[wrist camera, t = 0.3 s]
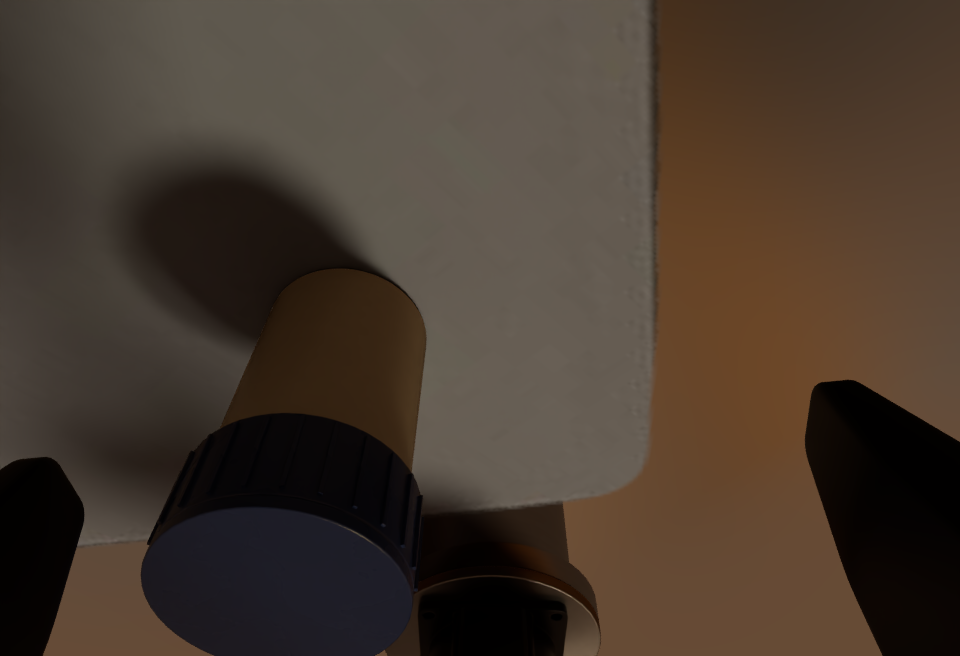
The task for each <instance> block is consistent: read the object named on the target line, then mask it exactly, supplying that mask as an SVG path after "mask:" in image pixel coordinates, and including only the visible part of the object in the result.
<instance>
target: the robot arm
mask: <svg viewBox="0 0 960 656" xmlns="http://www.w3.org/2000/svg"><path fill="white" fill-rule="evenodd" d="M805 448H806V454H807V458H808V462H809V465H810V468H811V471H812V474H813V477H814V480H815V483H816V486H817V489H818V492H819V495H820V498H821V501H822V504H823V507H824V510H825V513H826V516H827V519H828V522H829V525H830V528H831V532H832V535H833V537H834V541H835V544H836V546H837V550H838V553H839V556H840V559H841V562H842V564H843V567H844V570H845V573H846V575H847V578H848V581H849V583H850V585H851V588H852V590H853V592H854V595H855V597H856V599H857V601H858V604H859V606H860V608H861V610H862V612H863V614H864V617H865V619H866V621H867V623H868V625H869V627H870V630H871V632H872V634H873V636H874V638H875V640H876V642H877V645H878V646H879V649H880V651H881V653H882V655H883V656H960V442H959V441H957V440H956V439H954V438H952V437H951V436H949V435H947V434H945V433H943V432H942V431H940V430H939V429H937V428H935V427H933V426H932V425H930V424H929V423H927V422H925V421H923V420H922V419H920V418H918V417H917V416H915V415H913V414H912V413H910V412H908V411H907V410H905V409H903V408H901V407H900V406H898V405H896V404H895V403H893V402H891V401H890V400H888V399H886V398H884V397H883V396H881V395H879V394H878V393H876V392H874V391H872V390H871V389H869V388H868V387H866V386H864V385H862V384H861V383H859V382H856V381H854V380H842V381H831V382H821V383H819V384H817V385H816V386H815V387H814V389H813V391H812V394H811V400H810V407H809V413H808V421H807V428H806V434H805ZM83 523H84V507H83V503H82V501H81V499H80V497H79V496H78V494H77V493H76V491H75V489H74V488H73V486H72V484H71V483H70V481H69V480H68V478H67V476H66V475H65V473H64V471H63V470H62V468H61V466H60V465H59V464H58V462H56V461H55V460H54V459H52V458H49V457H37V458H27V459H20V460H16V461H13V462H11V463H10V464H8V465H7V466H5V467H4V468H2V469H1V470H0V656H43V653H44V651H45V648H46V645H47V643H48V640H49V637H50V634H51V631H52V628H53V625H54V622H55V619H56V615H57V612H58V609H59V605H60V602H61V598H62V595H63V592H64V588H65V585H66V581H67V578H68V574H69V571H70V568H71V564H72V561H73V557H74V554H75V551H76V547H77V544H78V540H79V537H80V534H81V530H82V527H83ZM567 622H568V612H567V606H566V605H565V604H563V603H560V602H514V601H424V602H421V603H420V604H419V607H418V629H419V643H420V656H563V654H564V646H565V638H566V630H567Z"/></svg>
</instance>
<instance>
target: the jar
mask: <svg viewBox="0 0 960 656" xmlns="http://www.w3.org/2000/svg"><path fill="white" fill-rule="evenodd" d="M426 339H427V337H426V329H425V325H424V322H423V319H422V317H421V315H420V313H419V311H418V309H417V308H416V306H415V305H414V303H413V302H412V301H411V300H410V299H409V297H408V296H407V295H406V294H405V293H403V292H402V291H401V290H400V289H399V288H397V287H396V286H395V285H393V284H392V283H390V282H388V281H387V280H385V279H383V278H381V277H378V276H376V275H374V274H371V273H367V272H364V271H360V270H354V269H344V268H335V269H325V270H319V271H316V272H313V273H309V274H307V275H305V276H303V277H300V278H298V279H297V280H295V281H294V282H292V283H291V284H290V285H288V286H287V287H286V288H285V289H284V290H283V291H282V292H281V293H280V294H279V296H278V297H277V299H276V300H275V302H274V304H273V306H272V309H271V311H270V313H269V316H268V318H267V320H266V322H265V325H264V327H263V329H262V332H261V334H260V336H259V339H258V341H257V343H256V346H255V348H254V350H253V352H252V355H251V357H250V359H249V362H248V364H247V366H246V369H245V371H244V373H243V376H242V378H241V380H240V382H239V385H238V387H237V389H236V392H235V394H234V396H233V399H232V401H231V403H230V405H229V408H228V410H227V412H226V415H225V417H224V419H223V422H222V424H221V426H220V428H222V427H224V426H226V425H228V424H230V423H233V422H235V421H238V420H241V419H244V418H248V417H252V416H257V415H264V414H271V413H300V414H309V415H316V416H322V417H326V418H330V419H334V420H337V421H340V422H343V423H346V424H349V425H351V426H354V427H356V428H358V429H360V430H362V431H364V432H367V433H368V434H370V435H372V436H373V437H375V438H377V439H378V440H380V441H381V442H383V443H384V444H385V445H387V446H388V447H389V448H390V449H392V450H393V451H394V452H395V453H396V454H397V455H398V456H399V457H400V458H401V459H402V460H403V462H404V463H405V464H406V466H407V467H408V468H409V469H410V471H411V473H412V465H413V456H414V447H415V439H416V430H417V421H418V413H419V404H420V395H421V387H422V378H423V369H424V361H425V352H426Z"/></svg>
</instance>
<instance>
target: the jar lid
mask: <svg viewBox="0 0 960 656" xmlns="http://www.w3.org/2000/svg"><path fill="white" fill-rule="evenodd" d="M422 505H423V495H420V491H419V488H418V485H417V482H416V480H415V478H414V475H413V474H412V473H411V471H410V469H409V468H408V467H407V466H406V464H405V463H404V462H403V460H402V459H401V458H400V457H399V456H398V455H397V454H396V453H395V452H394V451H393V450H392V449H390V448H389V447H388V446H387V445H385V444H384V443H383V442H381V441H380V440H378V439H377V438H375V437H373V436H372V435H370V434H368V433H367V432H364V431H362V430H360V429H358V428H356V427H354V426H351V425H349V424H346V423H343V422H340V421H337V420H334V419H330V418H326V417H322V416H316V415H309V414H300V413H271V414H264V415H257V416H252V417H248V418H244V419H241V420H238V421H235V422H233V423H230V424H228V425H226V426H224V427H222V428H220V429H219V430H217V431H215V432H214V433H212V434H209V435H208V436H207V438H206V439H205V440H203V441H202V442H201V444H200V445H199V446H198V447H197V448H196V449H195V450H194V451H190V453H189V455H188V457H187V459H186V461H185V464H184V466H183V468H182V470H181V471H180V473H179V475H178V477H177V479H176V482H175V484H174V486H173V488H172V490H171V492H170V494H169V497H168V499H167V501H166V503H165V505H164V507H163V510H162V512H161V514H160V516H159V518H158V520H157V522H156V525H155V527H154V529H153V531H152V533H151V535H150V537H149V540H148V542H147V545H149V547H148V549H147V552H146V554H145V557H144V559H143V562H142V568H141V582H142V588H143V592H144V595H145V597H146V599H147V601H148V603H149V605H150V607H151V609H152V610H153V611H154V612H155V614H156V615H157V617H158V618H159V619H160V620H161V621H162V622H163V623H164V624H165V625H166V626H167V627H168V628H169V629H170V630H172V631H173V632H174V633H175V634H177V635H178V636H179V637H181V638H182V639H184V640H185V641H187V642H188V643H190V644H191V645H194V646H195V647H197V648H199V649H201V650H203V651H205V652H207V653H209V654H212V655H214V656H375V655H377V654H379V653H380V652H382V651H383V650H385V649H386V648H388V647H389V646H390V645H391V644H392V643H394V642H395V641H396V640H397V639H398V638H399V636H400V635H401V634H402V632H403V631H404V630H405V628H406V626H407V624H408V622H409V620H410V617H411V613H412V608H413V596H414V591H416V592H417V591H418V582H419V570H420V559H421V548H422V537H423V526H424V517H421V516H422Z"/></svg>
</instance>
